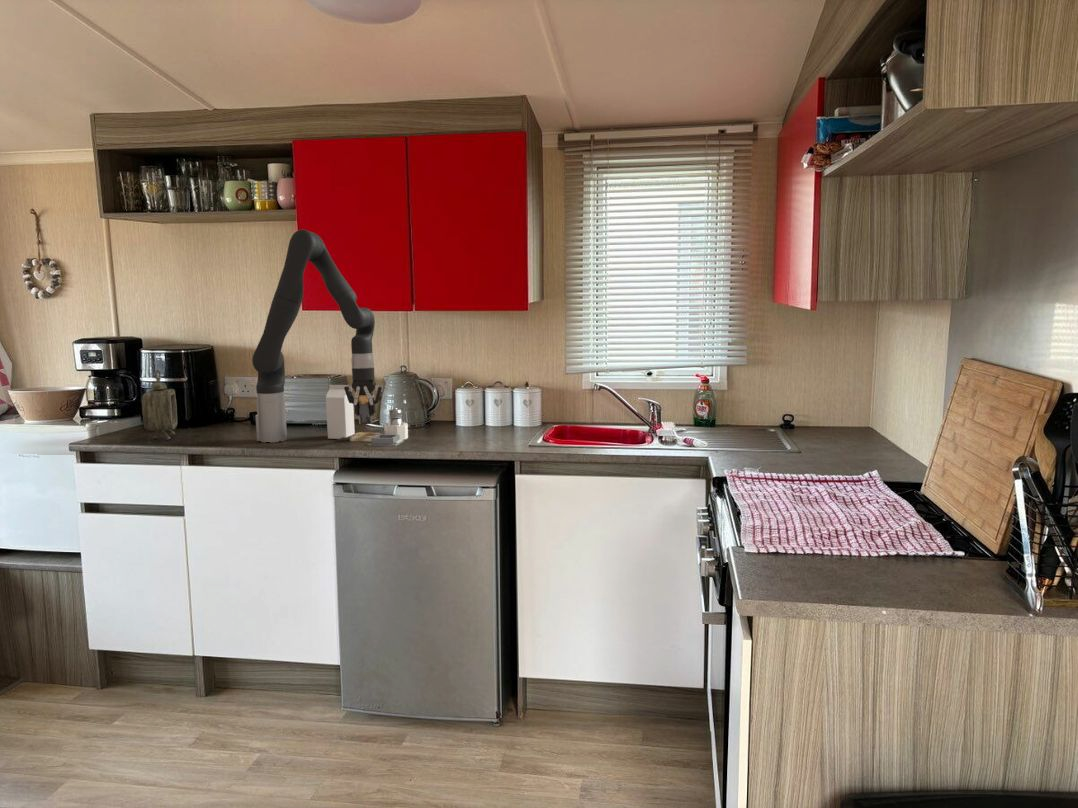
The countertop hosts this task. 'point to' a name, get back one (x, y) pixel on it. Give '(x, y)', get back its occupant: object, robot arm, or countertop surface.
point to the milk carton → (339, 413)
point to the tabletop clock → (159, 408)
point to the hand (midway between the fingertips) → (365, 415)
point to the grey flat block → (385, 440)
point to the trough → (362, 436)
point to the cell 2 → (395, 417)
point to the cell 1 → (364, 410)
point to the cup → (397, 430)
